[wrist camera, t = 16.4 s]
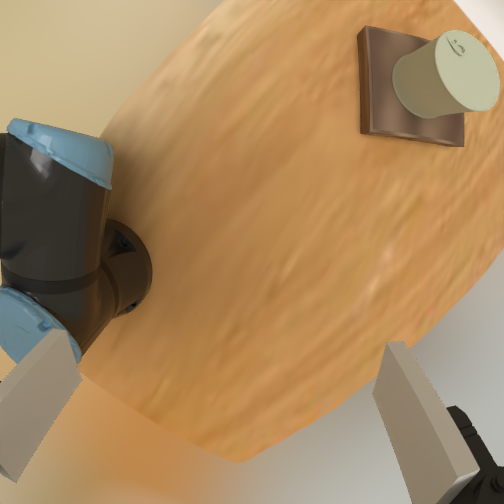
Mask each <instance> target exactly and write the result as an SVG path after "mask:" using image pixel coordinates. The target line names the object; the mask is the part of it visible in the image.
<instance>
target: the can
mask: <svg viewBox="0 0 504 504" xmlns="http://www.w3.org/2000/svg"><path fill="white" fill-rule="evenodd" d="M392 82H393V87H394V90H395V93H396V95H397V97H398V99H399V100H400V102H401V103H402V104H403V105H404V107H405V108H406V109H407V110H409V111H410V112H411V113H413V114H414V115H416V116H419V117H422V118H429V119H430V118H436V117H438V116H442V115H448V114H456V113H464V112H474V111H477V112H482V111H486V110H488V109H490V108H492V107H493V106H494V104H495V103H496V101H497V99H498V96H499V92H500V79H499V74H498V70H497V67H496V64H495V62H494V60H493V58H492V56H491V55H490V53H489V52H488V50H487V49H486V48H485V47H484V45H483V44H482V43H481V42H480V41H479V40H477V39H476V38H475V37H473V36H472V35H470V34H468V33H466V32H463V31H460V30H449V31H446V32H444V33H443V34H442V35H441V36H439V37H437V38H436V39H434V40H432V41H431V42H429V43H428V44H426V45H424V46H422V47H421V48H419V49H417V50H416V51H414V52H412V53H410V54H407V55H405V56H403V57H401V58H400V59H399V60H398V61H397V63H396V64H395V66H394V69H393V74H392Z"/></svg>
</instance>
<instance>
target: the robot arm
mask: <svg viewBox="0 0 504 504" xmlns="http://www.w3.org/2000/svg"><path fill="white" fill-rule="evenodd" d="M7 131H8V133H0V259H1V272H2V273H1V274H2V285H1V286H0V345H1V347H2V348H3V350H4V351H5V352H6V353H7V354H8V355H9V356H10V358H11V359H12V360H14V361H15V362H16V363H17V365H16V367H15V368H14V369H13V370H12V371H11V372H10V373H9V374H8V375H7V376H6V377H5V378H4V379H3V380H2V381H0V473H1V474H2V475H3V476H5V477H6V478H8V479H10V480H12V481H13V482H15V483H17V481H18V479H19V477H20V476H21V474H22V472H23V471H24V469H25V467H26V466H27V464H28V462H29V461H30V459H31V457H32V456H33V454H34V452H35V451H36V449H37V447H38V446H39V445H40V443H41V441H42V440H43V438H44V436H45V435H46V433H47V432H48V430H49V429H50V427H51V426H52V424H53V423H54V421H55V420H56V418H57V417H58V415H59V413H60V412H61V411H62V409H63V407H64V406H65V405H66V403H67V401H68V400H69V399H70V397H71V396H72V394H73V392H74V391H75V390H76V388H77V387H78V385H79V384H80V383H81V381H82V378H81V375H80V372H79V369H78V366H77V364H78V363H79V362H80V361H81V359H82V358H81V357H82V356H83V355H84V353H85V352H86V351H87V350H88V348H89V347H90V346H91V344H92V343H93V342H94V341H95V339H96V338H97V337H98V336H99V334H100V333H101V332H102V331H103V329H104V328H105V327H106V326H107V324H108V323H109V322H110V320H111V319H113V318H116V317H119V316H121V315H124V314H127V313H129V312H130V311H132V310H133V309H135V308H136V307H137V306H138V305H139V304H140V303H141V301H142V300H143V299H144V297H145V296H146V295H147V293H148V291H149V288H150V285H151V281H152V266H151V261H150V257H149V254H148V252H147V250H146V248H145V246H144V244H143V243H142V241H141V240H140V238H139V237H138V236H137V235H136V234H135V233H134V232H133V231H132V230H131V229H129V228H128V227H127V226H125V225H123V224H121V223H119V222H117V221H114V220H109V219H106V215H107V208H108V201H109V195H110V191H112V185H111V178H112V171H113V164H114V151H113V148H112V146H111V145H110V144H109V143H108V142H107V141H105V140H103V139H100V138H97V137H93V136H89V135H85V134H81V133H77V132H73V131H69V130H65V129H61V128H56V127H53V126H49V125H44V124H40V123H35V122H31V121H26V120H22V119H17V118H15V119H13V120H11V122H10V124H9V125H8V126H7ZM373 397H374V399H375V402H376V404H377V407H378V409H379V412H380V414H381V417H382V419H383V422H384V425H385V428H386V430H387V433H388V436H389V438H390V441H391V444H392V446H393V449H394V452H395V454H396V457H397V460H398V463H399V466H400V469H401V471H402V474H403V477H404V480H405V483H406V486H407V489H408V492H409V495H410V498H411V501H412V504H504V467H501V466H497V464H496V463H495V462H494V460H493V458H492V456H491V454H490V453H489V451H488V449H487V448H486V446H485V444H484V442H483V441H482V439H481V437H480V436H479V435H477V431H476V429H475V428H474V426H472V423H471V421H470V419H469V418H468V416H467V415H466V414H465V413H464V412H463V411H462V410H461V409H459V408H458V407H457V406H451V407H447V408H445V405H444V404H443V402H442V401H441V399H440V397H439V396H438V394H437V392H436V391H435V389H434V388H433V386H432V384H431V383H430V381H429V379H428V378H427V376H426V375H425V373H424V372H423V370H422V368H421V367H420V365H419V364H418V362H417V361H416V359H415V358H414V356H413V355H412V353H411V351H410V350H409V348H408V347H407V345H406V344H405V342H404V341H396V342H386V346H385V350H384V354H383V358H382V362H381V366H380V370H379V373H378V377H377V380H376V384H375V387H374V391H373Z"/></svg>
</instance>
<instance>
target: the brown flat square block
mask: <svg viewBox="0 0 504 504" xmlns="http://www.w3.org/2000/svg"><path fill="white" fill-rule="evenodd" d="M357 39H358V54H359V73H360V106H361V134H368V135H377V136H386V137H394V138H401V139H408V140H415V141H421V142H427V143H433V144H439V145H444V146H450V147H464V113H456V114H448V115H442V116H438V117H436V118H430V119H429V118H422V117H419V116H416V115H414V114H413V113H411V112H410V111H409V110H407V109H406V108H405V107H404V105H403V104H402V103H401V102H400V100H399V99H398V97H397V95H396V93H395V90H394V87H393V82H392V74H393V69H394V66H395V64H396V63H397V61H398V60H399V59H400V58H401V57H403V56H405V55H407V54H410V53H412V52H414V51H416V50H417V49H419V48H421V47H422V46H424V45H426V44H428V43H429V42H431V41H430V40H426V39H423V38H419V37H415V36H412V35H408V34H404V33H399V32H395V31H391V30H386V29H381V28H376V27H371V26H365V27H364V28H363V29H362V30H361V31H360V32H359V34H358V35H357Z"/></svg>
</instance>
